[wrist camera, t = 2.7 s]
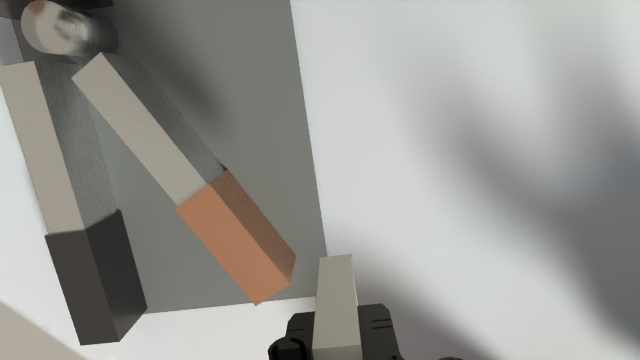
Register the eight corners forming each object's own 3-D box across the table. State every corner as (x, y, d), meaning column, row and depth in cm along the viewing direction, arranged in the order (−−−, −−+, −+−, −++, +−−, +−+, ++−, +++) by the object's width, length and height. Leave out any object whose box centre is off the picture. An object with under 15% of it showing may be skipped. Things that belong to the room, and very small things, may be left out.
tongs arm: (68, 33, 26) (9, 21, 21) (98, 5, 25) (45, -13, 21) (266, 275, 30) (253, 311, 25) (296, 256, 29) (288, 288, 25)
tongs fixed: (6, -31, 25) (-82, -62, 20) (100, -48, 25) (36, -84, 19) (109, 312, 31) (63, 358, 26) (187, 303, 31) (156, 349, 25)
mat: (-8, -57, 25) (-13, -59, 25) (273, -108, 24) (272, -111, 23) (106, 315, 32) (103, 318, 31) (332, 291, 30) (332, 294, 30)
